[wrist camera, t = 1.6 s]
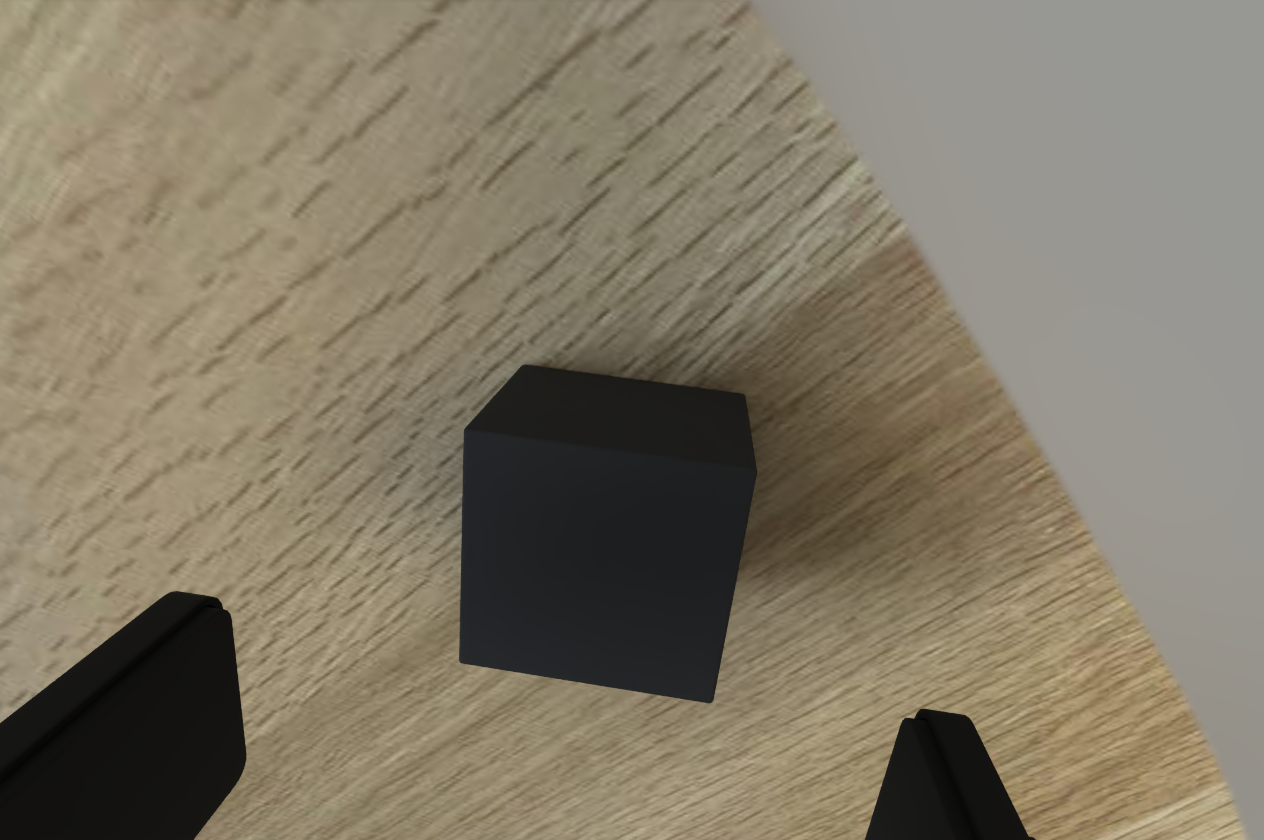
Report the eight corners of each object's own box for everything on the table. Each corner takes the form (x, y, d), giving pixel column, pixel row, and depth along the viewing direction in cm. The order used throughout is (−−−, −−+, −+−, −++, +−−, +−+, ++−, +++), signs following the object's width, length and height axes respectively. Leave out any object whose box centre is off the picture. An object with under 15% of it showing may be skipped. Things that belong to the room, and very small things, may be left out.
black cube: (522, 363, 15) (462, 428, 12) (746, 393, 15) (758, 470, 11) (512, 555, 17) (457, 664, 13) (711, 585, 17) (712, 705, 13)
